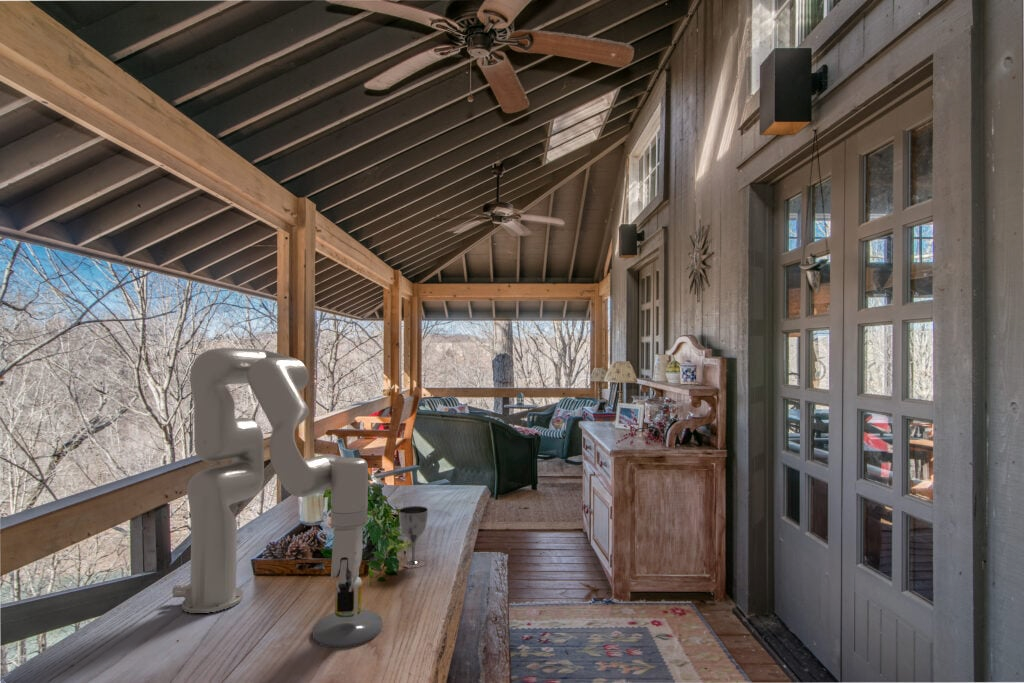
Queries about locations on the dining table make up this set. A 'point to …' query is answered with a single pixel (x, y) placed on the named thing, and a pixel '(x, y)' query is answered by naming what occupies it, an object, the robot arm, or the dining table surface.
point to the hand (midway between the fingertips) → (348, 603)
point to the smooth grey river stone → (347, 630)
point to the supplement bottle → (357, 600)
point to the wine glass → (413, 526)
